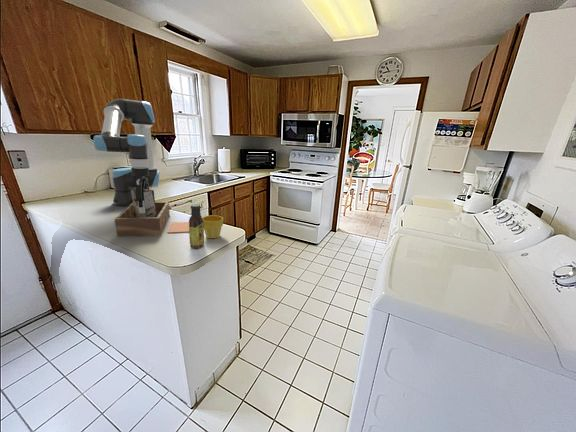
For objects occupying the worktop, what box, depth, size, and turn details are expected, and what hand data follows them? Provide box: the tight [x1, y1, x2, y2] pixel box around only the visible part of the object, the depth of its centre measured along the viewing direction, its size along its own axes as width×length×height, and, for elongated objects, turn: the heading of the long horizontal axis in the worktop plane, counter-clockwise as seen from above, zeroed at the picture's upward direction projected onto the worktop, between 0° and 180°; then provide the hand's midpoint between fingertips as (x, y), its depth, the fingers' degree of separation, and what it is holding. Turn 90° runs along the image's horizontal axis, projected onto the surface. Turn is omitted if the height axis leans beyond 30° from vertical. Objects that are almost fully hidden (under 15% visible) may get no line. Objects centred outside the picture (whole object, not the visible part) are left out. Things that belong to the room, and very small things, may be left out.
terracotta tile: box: [167, 221, 189, 234], centre depth 129 cm, size 14×14×1 cm
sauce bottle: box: [188, 203, 205, 250], centre depth 107 cm, size 6×6×20 cm
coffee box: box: [131, 188, 157, 218], centre depth 124 cm, size 9×6×16 cm
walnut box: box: [114, 201, 171, 238], centre depth 126 cm, size 28×18×9 cm, turn 17°
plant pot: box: [202, 214, 224, 239], centre depth 120 cm, size 10×10×10 cm
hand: (144, 209), depth 125 cm, fingers closed on coffee box, 10 cm apart
